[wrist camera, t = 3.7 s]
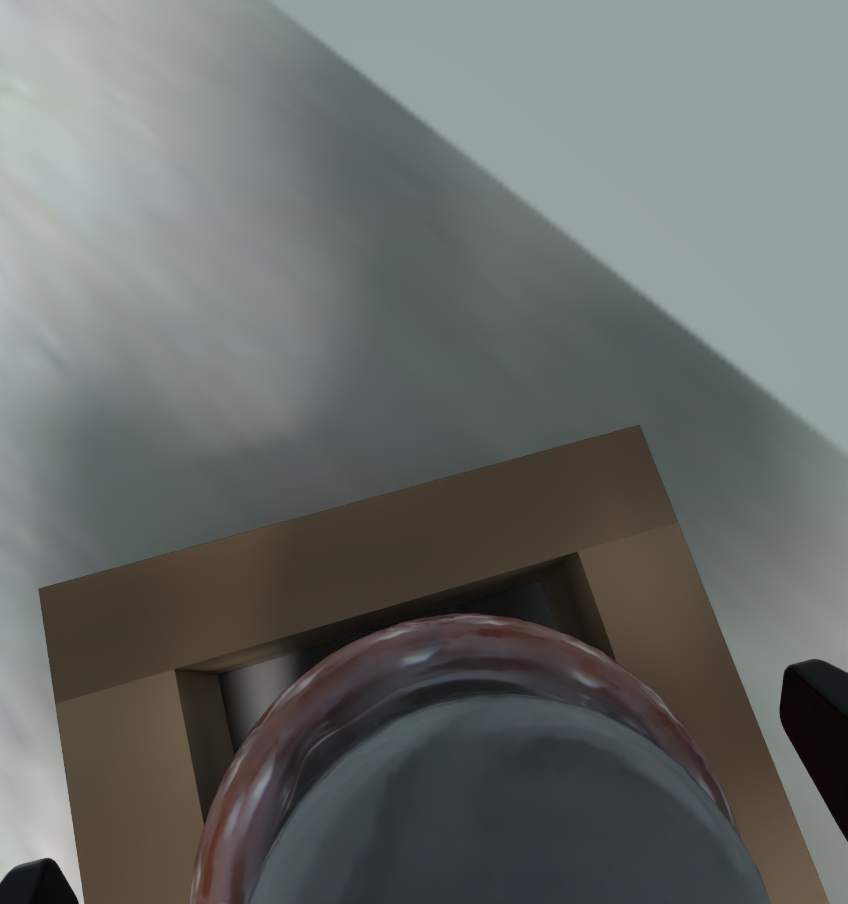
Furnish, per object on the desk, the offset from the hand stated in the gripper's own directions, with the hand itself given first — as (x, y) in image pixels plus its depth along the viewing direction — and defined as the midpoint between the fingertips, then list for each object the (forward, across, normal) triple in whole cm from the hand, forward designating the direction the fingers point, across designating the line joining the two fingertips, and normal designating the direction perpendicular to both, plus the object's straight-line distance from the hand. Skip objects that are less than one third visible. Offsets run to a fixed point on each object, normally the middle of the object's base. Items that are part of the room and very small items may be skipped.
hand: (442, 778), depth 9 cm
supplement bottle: (+4, 0, +6) cm, 8 cm away
